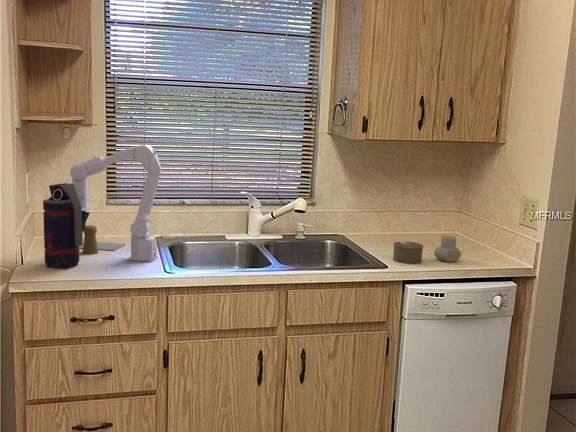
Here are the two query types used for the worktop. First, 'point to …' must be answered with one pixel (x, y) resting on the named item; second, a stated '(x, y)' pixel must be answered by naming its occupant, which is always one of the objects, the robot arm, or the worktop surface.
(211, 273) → the worktop surface
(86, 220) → the robot arm
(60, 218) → the grenade
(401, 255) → the can
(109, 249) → the mat
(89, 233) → the cork
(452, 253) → the air freshener
